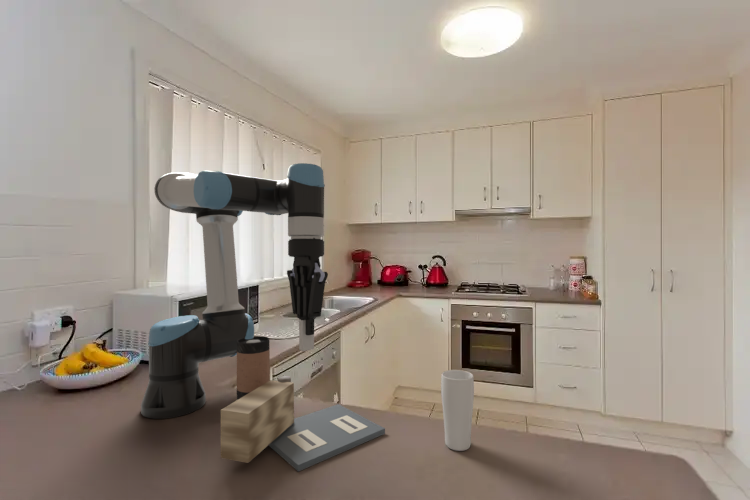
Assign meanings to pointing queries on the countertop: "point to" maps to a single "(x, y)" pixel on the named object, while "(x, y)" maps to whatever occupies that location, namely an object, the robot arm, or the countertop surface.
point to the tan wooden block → (256, 419)
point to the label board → (323, 436)
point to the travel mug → (252, 364)
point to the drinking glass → (457, 408)
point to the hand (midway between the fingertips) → (306, 349)
